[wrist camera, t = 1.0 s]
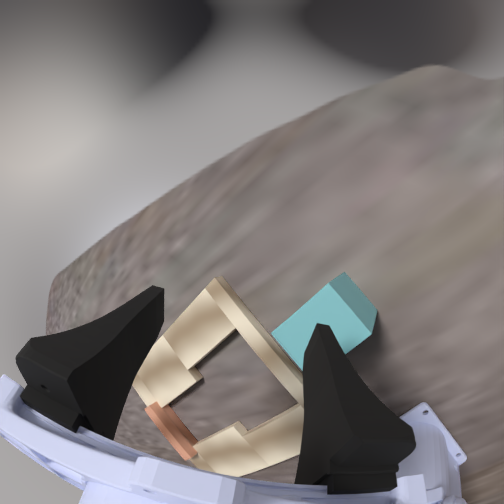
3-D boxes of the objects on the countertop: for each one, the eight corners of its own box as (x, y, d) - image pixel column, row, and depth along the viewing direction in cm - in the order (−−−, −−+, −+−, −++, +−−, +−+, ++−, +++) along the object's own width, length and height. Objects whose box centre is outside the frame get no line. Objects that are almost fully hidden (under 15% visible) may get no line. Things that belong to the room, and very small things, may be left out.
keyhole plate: (347, 424, 22) (341, 440, 20) (217, 479, 29) (207, 489, 27) (221, 276, 27) (206, 279, 25) (132, 373, 34) (118, 379, 32)
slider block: (377, 310, 21) (371, 334, 16) (330, 348, 23) (309, 379, 17) (344, 271, 22) (328, 282, 17) (299, 312, 24) (270, 333, 19)
